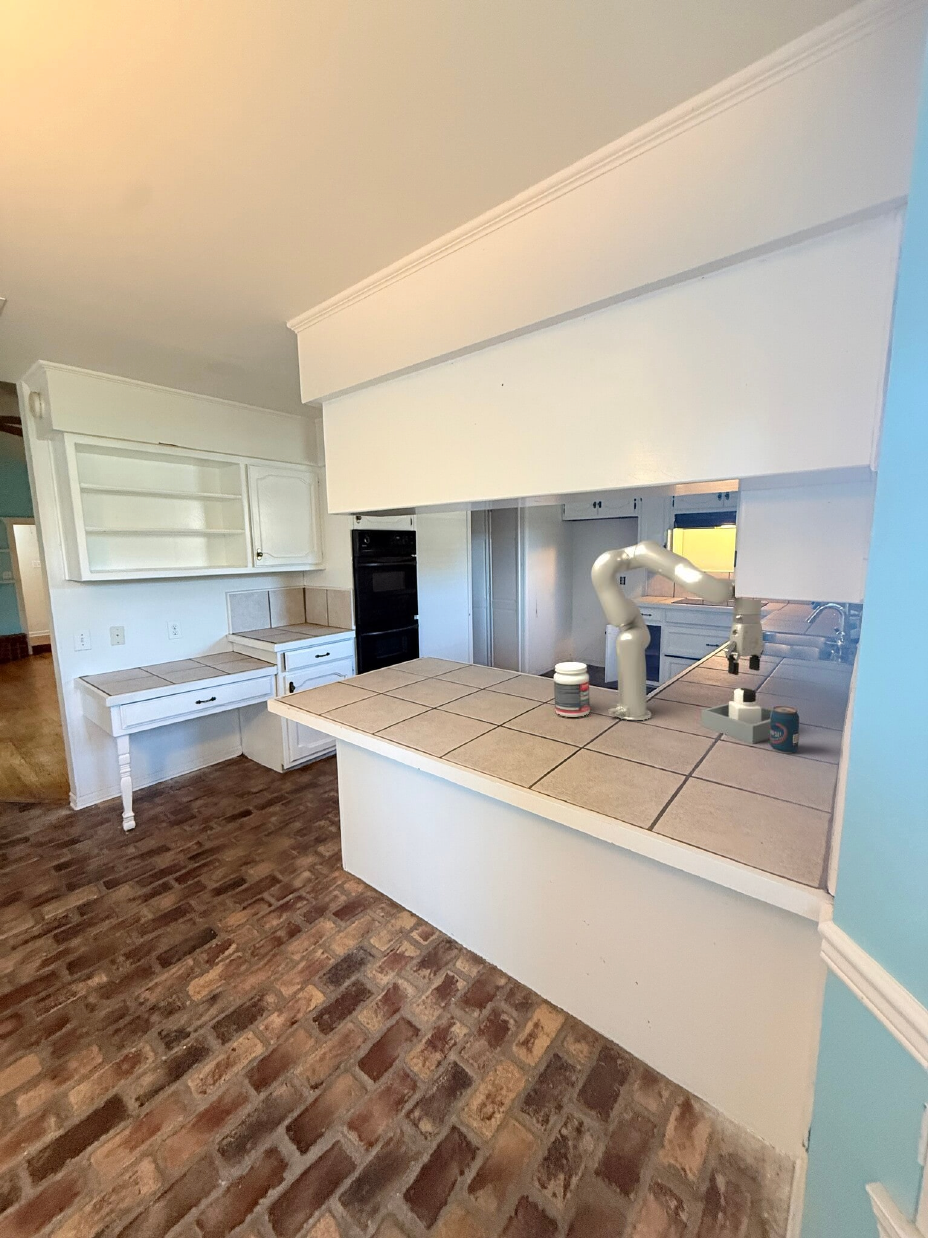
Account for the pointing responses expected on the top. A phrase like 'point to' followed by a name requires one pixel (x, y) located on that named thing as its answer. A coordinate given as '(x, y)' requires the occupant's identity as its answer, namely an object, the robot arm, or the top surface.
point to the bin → (737, 724)
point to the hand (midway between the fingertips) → (743, 672)
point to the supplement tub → (571, 689)
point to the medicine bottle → (745, 706)
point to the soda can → (784, 729)
